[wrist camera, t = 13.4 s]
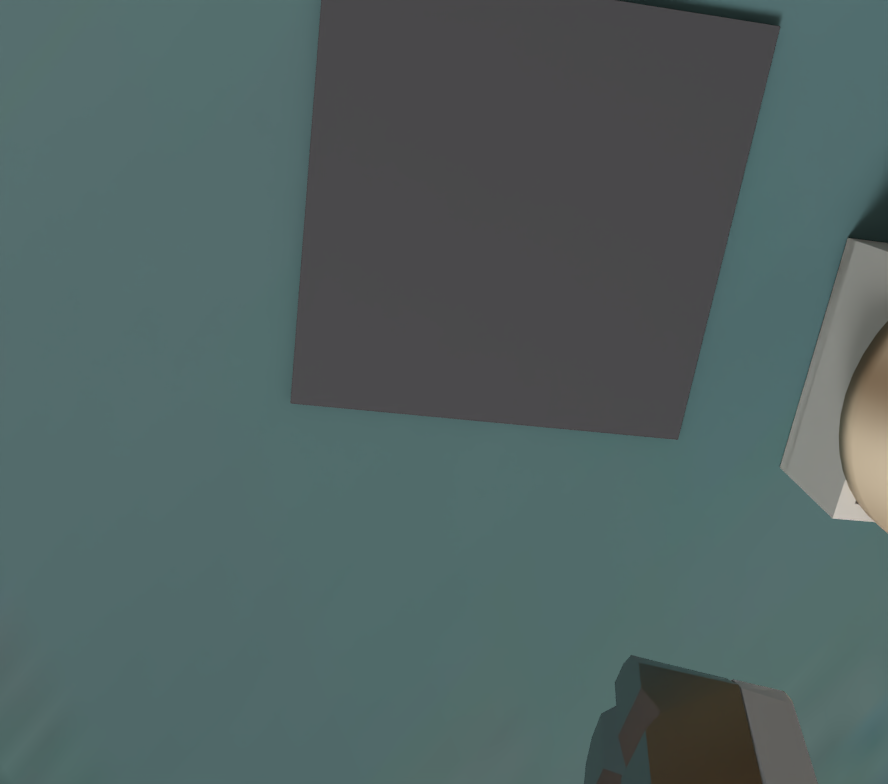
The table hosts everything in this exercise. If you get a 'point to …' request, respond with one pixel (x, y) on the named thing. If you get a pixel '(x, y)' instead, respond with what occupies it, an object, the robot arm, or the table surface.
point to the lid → (868, 431)
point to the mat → (520, 207)
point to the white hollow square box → (837, 377)
